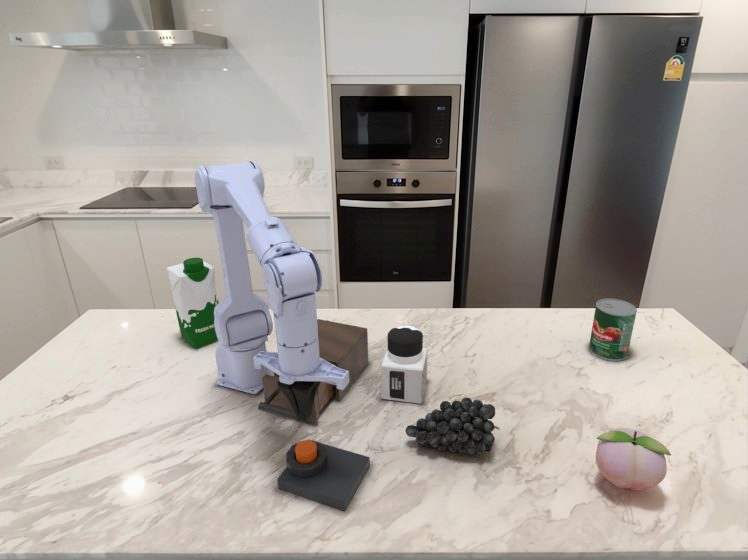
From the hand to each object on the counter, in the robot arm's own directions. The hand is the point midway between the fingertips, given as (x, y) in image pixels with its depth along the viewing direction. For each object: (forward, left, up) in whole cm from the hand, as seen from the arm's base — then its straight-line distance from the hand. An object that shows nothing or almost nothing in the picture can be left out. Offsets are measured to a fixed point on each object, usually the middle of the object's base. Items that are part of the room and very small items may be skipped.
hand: (304, 416), depth 72 cm
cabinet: (-9, +23, -10) cm, 26 cm away
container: (+7, +24, -10) cm, 27 cm away
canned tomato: (+44, +53, -10) cm, 70 cm away
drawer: (-9, +12, -9) cm, 17 cm away
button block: (+3, -1, -10) cm, 10 cm away
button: (0, -1, -7) cm, 7 cm away
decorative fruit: (+45, +14, -10) cm, 49 cm away
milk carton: (-43, +26, -10) cm, 52 cm away
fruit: (+19, +13, -10) cm, 25 cm away
